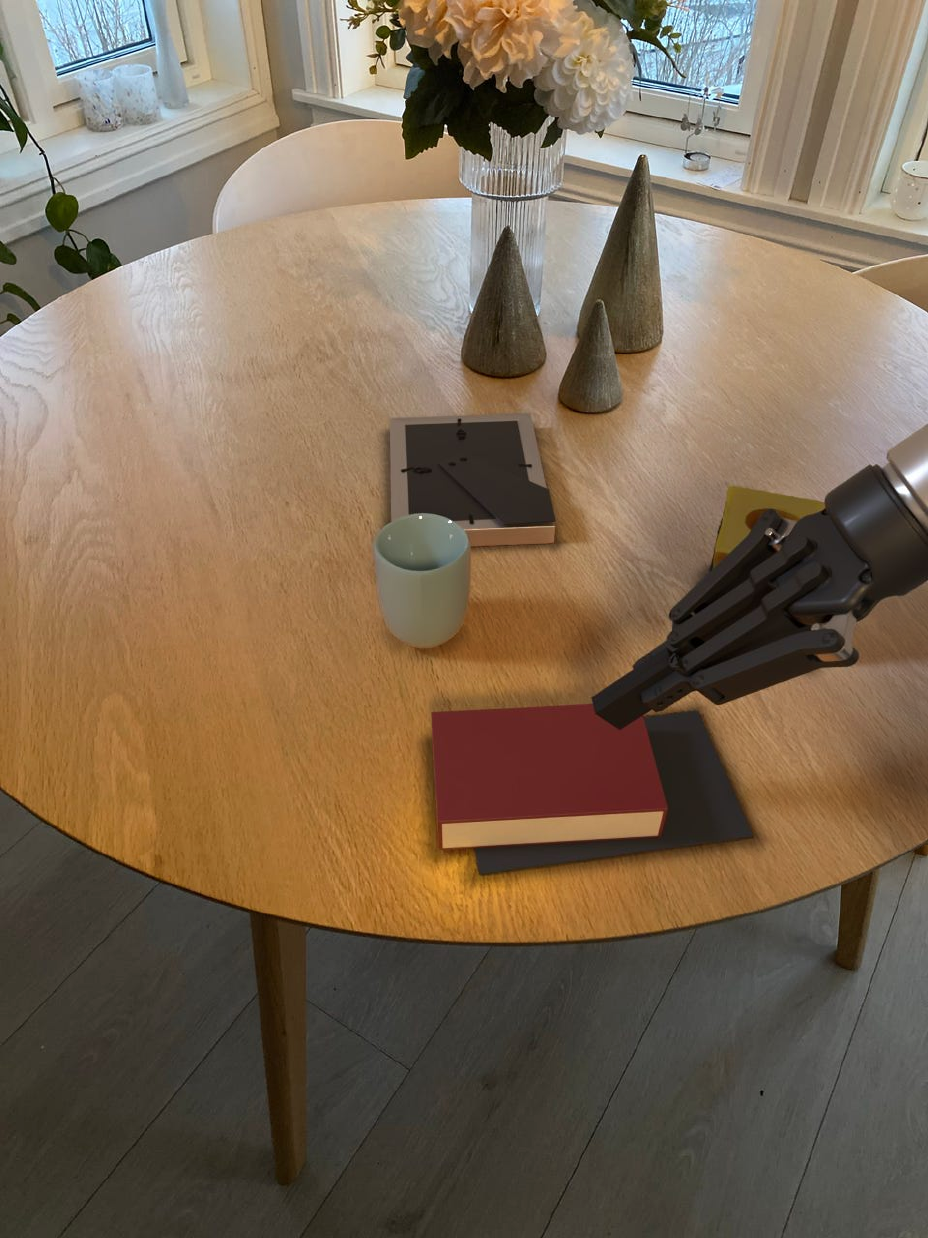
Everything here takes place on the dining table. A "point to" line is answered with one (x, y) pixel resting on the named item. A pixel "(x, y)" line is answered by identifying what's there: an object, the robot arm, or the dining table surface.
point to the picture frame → (473, 476)
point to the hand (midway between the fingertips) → (605, 713)
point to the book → (542, 778)
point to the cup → (423, 578)
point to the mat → (691, 794)
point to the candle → (754, 515)
